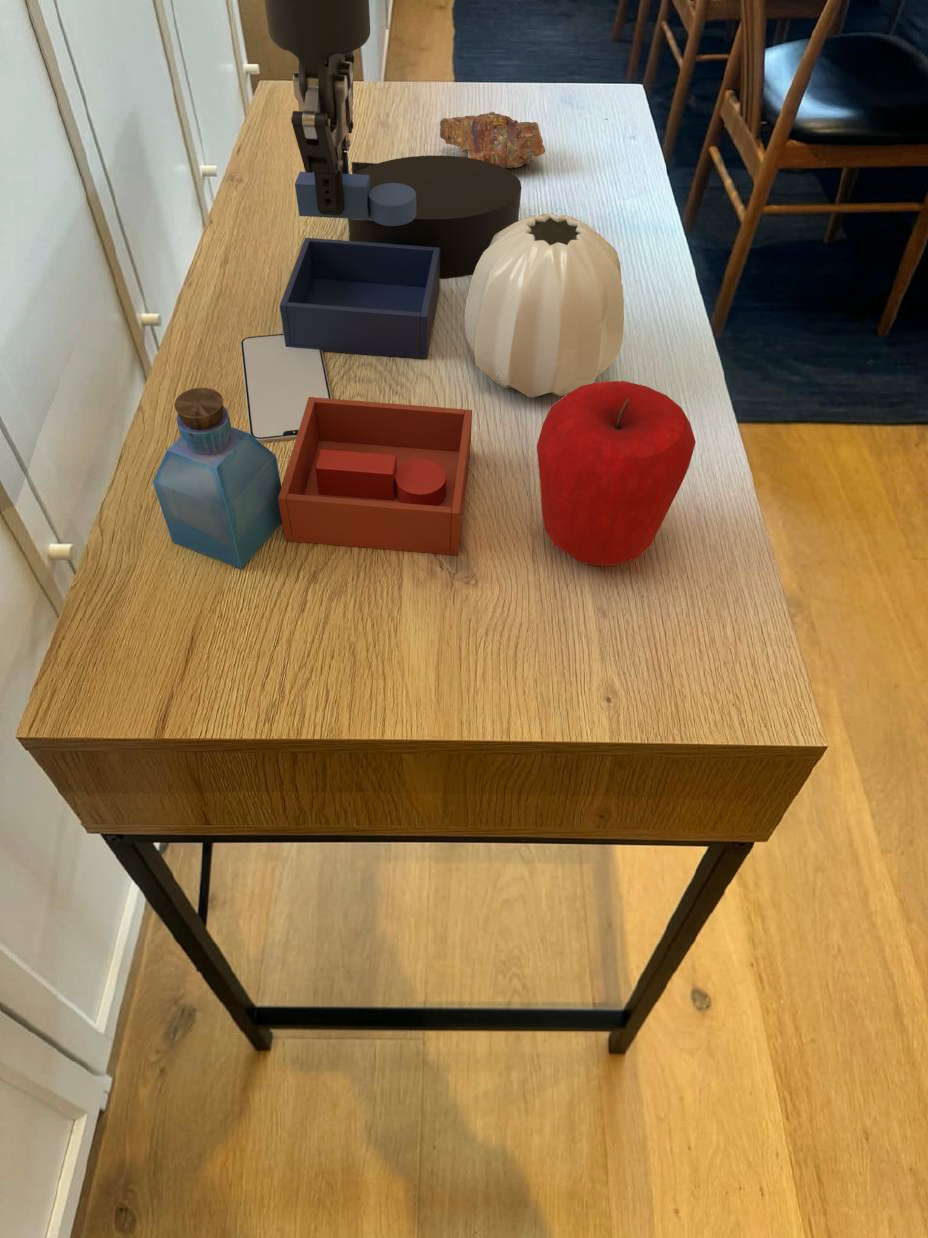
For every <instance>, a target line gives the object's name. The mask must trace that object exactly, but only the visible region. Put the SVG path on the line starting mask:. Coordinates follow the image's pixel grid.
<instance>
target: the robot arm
mask: <svg viewBox="0 0 928 1238" xmlns="http://www.w3.org/2000/svg"><path fill="white" fill-rule="evenodd" d="M264 9H265V16H266V17H265V18H266V24H267V32H268V36H269V38H270V40H271V42H272V43H273V44H274V45H276V46H277V47H278V48H279V49H282V50H283V51H287V52H290V53H291V54H292V55H294V56H295V57H296V59H297V60H298V65H297V68H298V71H294V72H293V77H292V84H293V94H294V98H295V99H296V100H297V103H298V105H297V106H298V110H293V111H292V114H291V117H290V121H291V125H292V129H293V133H294V137H295V140H296V143H297V147H298V150H299V154H300V157H301V161H302V164H303V169H304V172H307V173H312V172H314V177H315V187H316V197H317V207H318V211H319V212H320V213H321V214H327V215H341V214H342V213H343V211H344V208H345V204H344V191H343V175H342V174H350V168H349V167H350V166H349V156H348V155H349V153H348V152H349V151H350V147H351V144H352V143H351V142H352V141H351V139H350V134H352V133H353V129H354V122H353V120H354V118H353V116H354V107H353V106H354V64H355V55H354V52H355V51H357V50H359V49H360V48H362V47H363V46H365V44H366V43H367V42H368V40H369V39H370V36H371V16H370V0H264Z"/></svg>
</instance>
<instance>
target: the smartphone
mask: <svg viewBox="0 0 928 1238" xmlns="http://www.w3.org/2000/svg"><path fill="white" fill-rule="evenodd" d="M239 346H240V353H241V355H240V356H241V363H242V373H243V382H244V391H245V393H244V394H245V403H246V405H245V406H246V407H245V408H246V414H247V415H246V416H247V423H248V431H249V432H248V433H250V434H251V435H252V436H253V437H254V438H256V439H257V440H258V441H259V442H260V443H262V444H267V443H274V442H275V443H276V442H285V441H292V440H293V441H294V440H296V437H297V434H298V431H299V427H300V424H301V421H302V418H303V414H304V411H305V408H306V404H307V401H308V398H309V397H315V398H329V399H333V397H332V393H331V387H330V382H329V378H328V372H327V368H326V362H325V357H324V351H322V350H318V349H306V348H294V347H286V346H285V339H284V333H277V334H275V333H274V334H265V335H254V336H247V337H244V338H243V339H242V340H241V341H240V343H239Z"/></svg>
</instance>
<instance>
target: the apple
mask: <svg viewBox="0 0 928 1238" xmlns="http://www.w3.org/2000/svg"><path fill="white" fill-rule="evenodd" d="M696 443H697V442H696V438H695V434H694V432H693V428H692V424H691V421H690V420H689V418H688V416H687V414H686V413H685V411H684V410H683V408H682V407H681V406H680V405H679V404H677V402H675V401H674V400H673V399H672V398H671V397H670V396H668V395H667V394H665V393H663V392H661V391H658V390H656V389H653V388H651V387H649V386H646V385H642V384H638V383H633V382H629V381H625V380H615V381H612V380H611V381H599V382H593V383H591V384H589V385H584V386H580V387H579V388H577V389H575V390H574V391H572V392H570V393H569V394H567V395H564V396H562V398H560V399H558V400H557V401H556V402H555V403H554V404H552V405H551V406H550V408H549V410H548V412H547V415H546V416H545V418H544V420H543V422H542V425H541V428H540V433H539V437H538V439H537V443H536V454H537V464H538V473H539V474H538V475H539V487H540V499H541V514H542V521H543V527H544V531H545V532H546V533H547V536H548V537H549V539H550V540H551V542H552V544H553V545H554V547H555V546H556V547H557V548H558V549H560V550H561V551H563V552H564V553H566V554H568V555H569V556H571V557H572V558H574V559H575V560H577V561H579V562H581V563H584V564H588V565H590V566H613V565H619V564H623V563H626V562H629V561H632V560H636V559H638V558H640V556H641V555H642V554H643V553H644V552H646V551H647V550H648V549H649V548H650V547H651V546H652V544H653V542H654V540H655V538H656V536H657V534H658V532H659V530H660V528H661V526H662V524H663V522H664V520H665V519H666V517H667V514H668V512H669V510H670V508H671V506H672V504H673V502H674V500H675V498H676V496H677V494H678V492H679V490H680V489H681V486H682V484H683V482H684V480H685V477H686V475H687V473H688V470H689V468H690V464H691V461H692V457H693V453H694V450H695V446H696Z"/></svg>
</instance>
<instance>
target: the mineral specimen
mask: <svg viewBox="0 0 928 1238" xmlns="http://www.w3.org/2000/svg"><path fill="white" fill-rule="evenodd" d="M439 126H440V128H439V137H440V139H442V140H443V141H444V142H445V144H446V145H452V146H454V147H458V148H460V149H461V150H462V152H467V158H473V159H478V160H482V161H487V162H490V163H493V164H496V165H499V166H501V167H503V168H505V169H512V168H521V167H522V166H524V165H529V164H530V163H531V162H532V160H533V157H539V156H542V155H544V154H545V153H546V149H545V148H546V147H545V146H544V140H543V138H542V137H543V136H542V135H541V131H540V128H539V127H540V126H539V124H538V122H536V121H533V122H531V121H518V120H517V119H512V117H510V115H509V116H507V115H502V114H501V113H496V112H495V111H489V112H487V113H481V114H478V115H464V116H456V117H450V118H447V117H443V118H442V119H440V121H439Z"/></svg>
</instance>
